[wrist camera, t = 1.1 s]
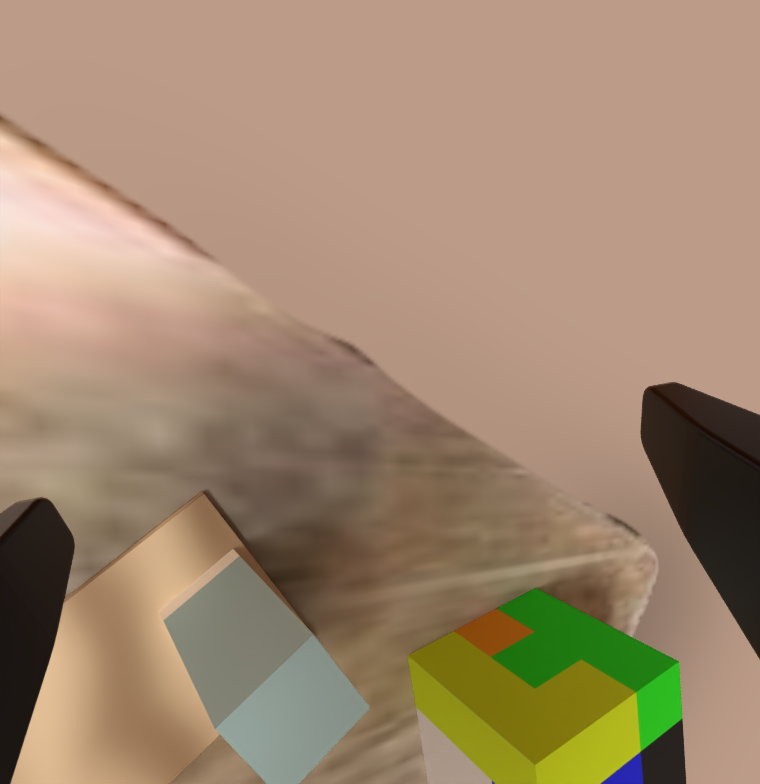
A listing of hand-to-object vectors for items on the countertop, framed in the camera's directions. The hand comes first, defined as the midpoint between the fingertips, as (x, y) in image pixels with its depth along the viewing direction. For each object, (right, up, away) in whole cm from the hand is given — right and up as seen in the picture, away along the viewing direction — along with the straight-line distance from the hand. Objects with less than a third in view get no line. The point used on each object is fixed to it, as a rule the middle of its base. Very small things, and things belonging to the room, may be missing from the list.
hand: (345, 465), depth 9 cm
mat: (-10, -12, +18) cm, 23 cm away
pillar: (-7, -9, +19) cm, 22 cm away
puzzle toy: (+7, -17, +29) cm, 34 cm away
